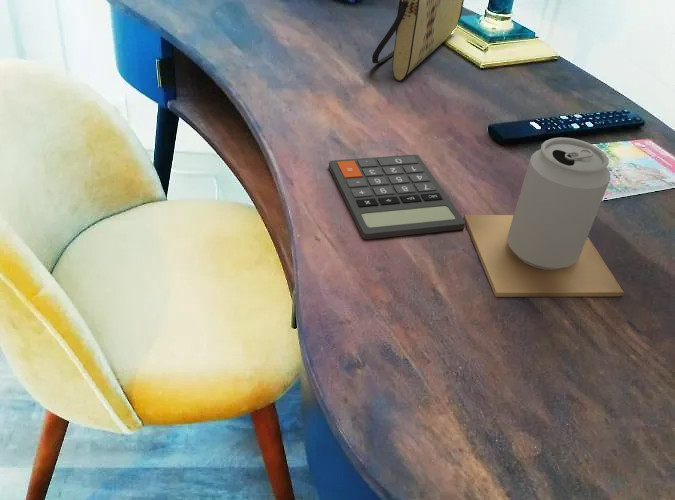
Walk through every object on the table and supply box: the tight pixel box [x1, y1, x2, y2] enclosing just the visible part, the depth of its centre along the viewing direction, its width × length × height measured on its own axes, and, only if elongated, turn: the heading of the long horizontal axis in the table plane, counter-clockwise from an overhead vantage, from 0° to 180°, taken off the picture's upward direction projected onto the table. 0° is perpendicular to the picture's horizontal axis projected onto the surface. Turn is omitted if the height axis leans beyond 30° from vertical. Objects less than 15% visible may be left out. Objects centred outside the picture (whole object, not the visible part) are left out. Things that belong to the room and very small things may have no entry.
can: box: [507, 136, 611, 270], centre depth 64 cm, size 8×8×12 cm
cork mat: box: [462, 214, 625, 298], centre depth 68 cm, size 13×13×1 cm
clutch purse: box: [371, 0, 465, 82], centre depth 106 cm, size 30×7×15 cm, turn 154°
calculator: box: [328, 154, 466, 240], centre depth 75 cm, size 12×1×15 cm
